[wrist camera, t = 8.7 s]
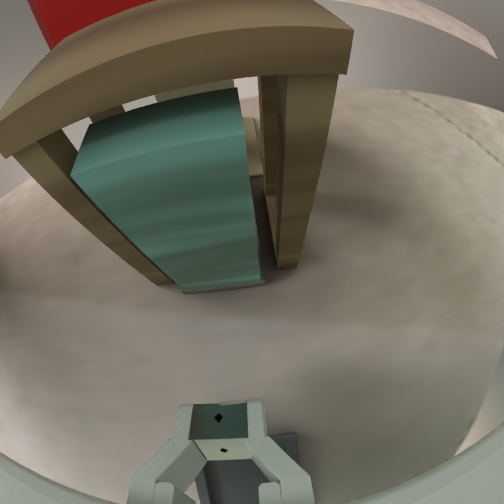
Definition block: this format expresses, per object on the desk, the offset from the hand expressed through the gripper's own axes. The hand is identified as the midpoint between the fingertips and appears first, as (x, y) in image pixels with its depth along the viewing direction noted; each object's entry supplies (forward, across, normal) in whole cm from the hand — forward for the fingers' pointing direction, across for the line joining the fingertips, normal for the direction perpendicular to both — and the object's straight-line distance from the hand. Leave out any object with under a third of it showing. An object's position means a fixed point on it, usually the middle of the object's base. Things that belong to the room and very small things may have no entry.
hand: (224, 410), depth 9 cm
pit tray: (0, 0, +8) cm, 8 cm away
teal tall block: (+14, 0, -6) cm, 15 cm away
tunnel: (+11, 0, -3) cm, 12 cm away
